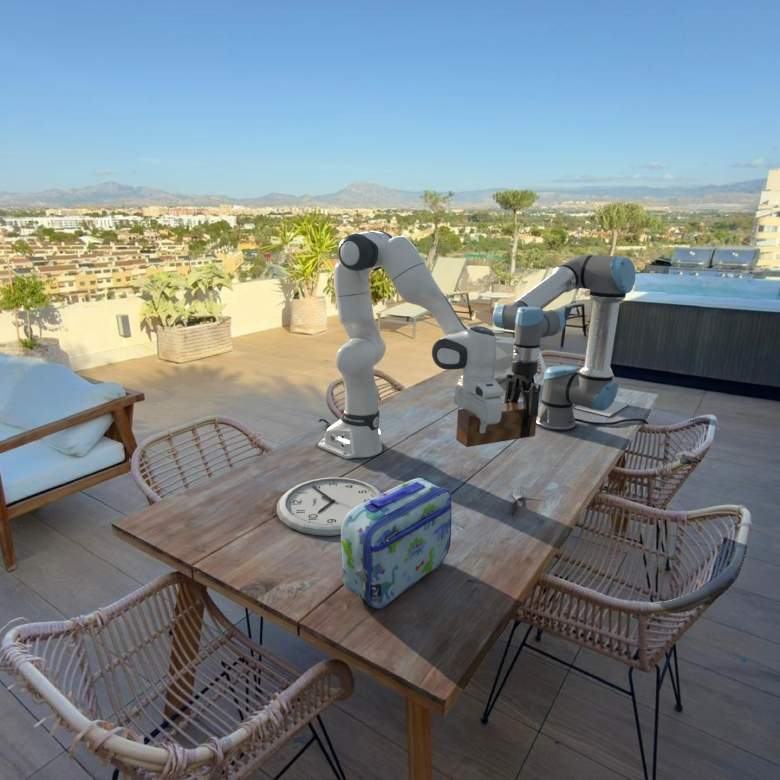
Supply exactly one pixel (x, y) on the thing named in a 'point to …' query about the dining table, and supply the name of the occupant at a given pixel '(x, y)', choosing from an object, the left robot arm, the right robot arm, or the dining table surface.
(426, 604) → the dining table surface
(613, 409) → the invitation card
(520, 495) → the fork
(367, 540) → the lunch box
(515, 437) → the box
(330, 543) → the dining table surface
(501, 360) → the white plastic object
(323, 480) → the wall clock
